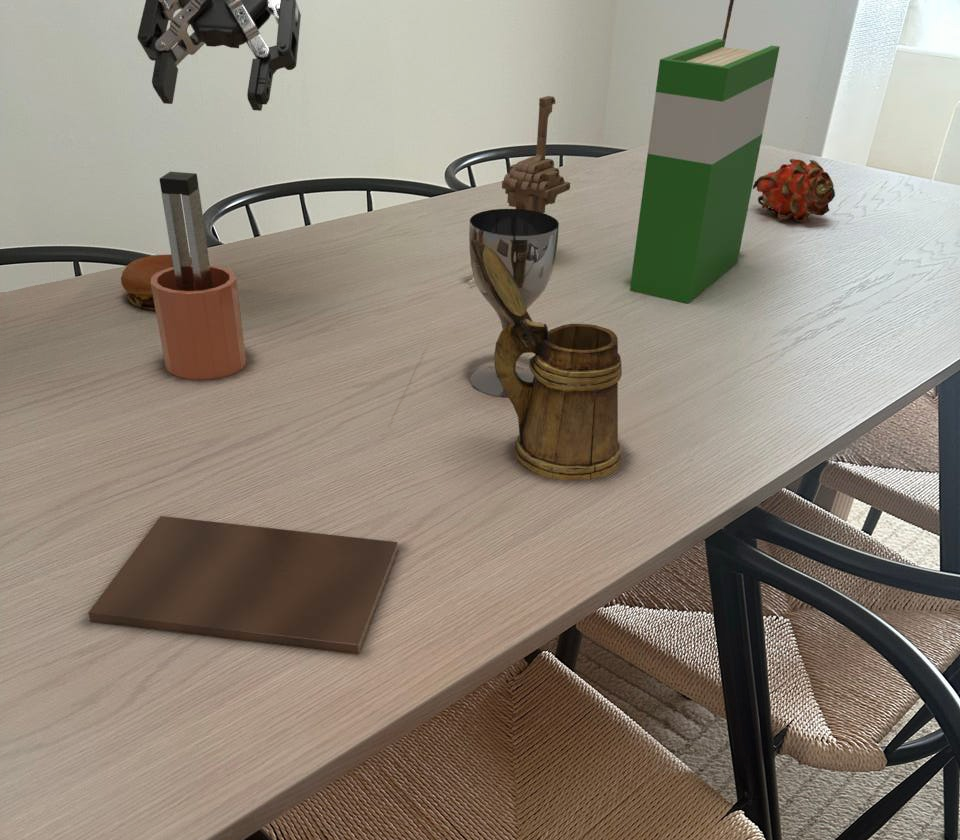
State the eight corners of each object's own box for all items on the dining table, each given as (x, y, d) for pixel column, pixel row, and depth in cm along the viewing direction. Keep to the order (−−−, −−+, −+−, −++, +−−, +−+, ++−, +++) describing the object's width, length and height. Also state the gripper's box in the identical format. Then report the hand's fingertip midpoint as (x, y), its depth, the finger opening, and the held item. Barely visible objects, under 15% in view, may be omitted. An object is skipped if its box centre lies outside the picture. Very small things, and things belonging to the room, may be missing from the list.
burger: (136, 286, 113) (128, 245, 110) (219, 287, 114) (213, 246, 111) (118, 320, 105) (110, 276, 102) (207, 321, 106) (201, 277, 103)
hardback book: (683, 250, 130) (717, 38, 114) (737, 261, 127) (779, 46, 112) (629, 290, 118) (659, 59, 102) (688, 303, 115) (728, 68, 100)
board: (92, 630, 65) (87, 612, 64) (163, 532, 74) (160, 515, 73) (358, 663, 63) (357, 645, 63) (398, 558, 73) (397, 541, 72)
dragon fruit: (828, 241, 140) (749, 235, 146) (850, 192, 141) (771, 189, 148) (820, 196, 133) (736, 192, 139) (843, 146, 134) (760, 144, 141)
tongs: (189, 366, 95) (158, 178, 84) (198, 356, 97) (169, 171, 86) (214, 369, 95) (186, 180, 84) (222, 359, 97) (197, 173, 86)
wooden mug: (472, 428, 89) (478, 220, 78) (622, 443, 88) (651, 234, 76) (455, 477, 82) (459, 257, 71) (618, 494, 81) (648, 272, 69)
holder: (154, 383, 94) (137, 289, 88) (184, 351, 100) (169, 261, 94) (231, 390, 93) (218, 296, 88) (257, 358, 99) (247, 267, 93)
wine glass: (454, 390, 95) (457, 228, 85) (480, 358, 101) (486, 204, 91) (533, 404, 93) (545, 241, 84) (555, 371, 99) (569, 215, 89)
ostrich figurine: (521, 246, 129) (530, 91, 117) (565, 257, 126) (578, 99, 115) (444, 280, 118) (445, 113, 106) (490, 294, 115) (497, 123, 104)
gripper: (145, -100, 88) (115, 68, 87) (299, -92, 87) (273, 79, 85) (177, -34, 96) (150, 122, 94) (320, -26, 94) (295, 132, 93)
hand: (209, 101), depth 90 cm, fingers open, 8 cm apart
